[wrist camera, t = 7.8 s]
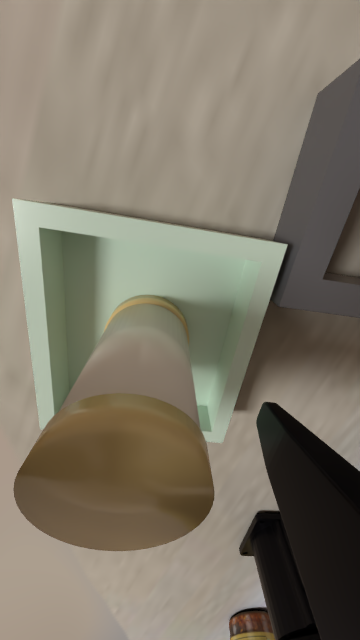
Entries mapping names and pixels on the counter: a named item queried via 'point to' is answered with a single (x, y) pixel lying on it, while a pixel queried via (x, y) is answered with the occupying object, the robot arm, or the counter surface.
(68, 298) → the parts tray
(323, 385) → the counter surface
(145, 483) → the fuse
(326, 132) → the socket block
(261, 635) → the sauce bottle
